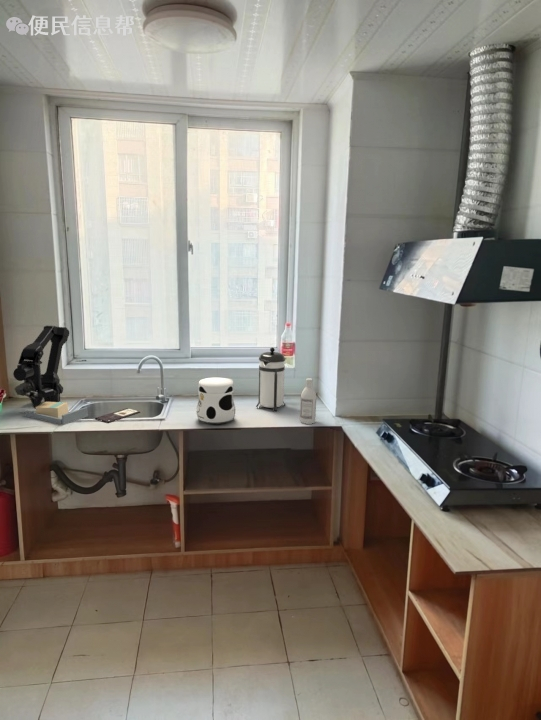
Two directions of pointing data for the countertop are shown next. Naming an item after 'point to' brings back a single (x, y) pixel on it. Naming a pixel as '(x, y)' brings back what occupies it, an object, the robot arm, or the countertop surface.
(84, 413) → the grey tray
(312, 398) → the bath foam
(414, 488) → the countertop surface
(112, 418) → the chocolate bar
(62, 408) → the carton
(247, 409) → the countertop surface
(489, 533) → the countertop surface
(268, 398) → the coffee press
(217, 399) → the milk container
